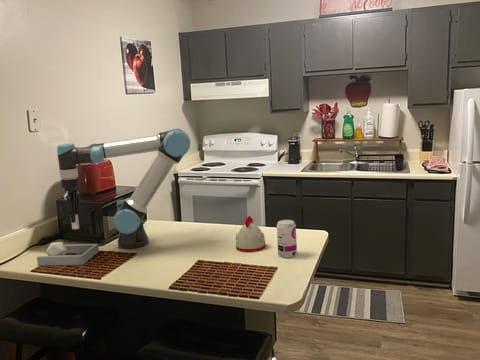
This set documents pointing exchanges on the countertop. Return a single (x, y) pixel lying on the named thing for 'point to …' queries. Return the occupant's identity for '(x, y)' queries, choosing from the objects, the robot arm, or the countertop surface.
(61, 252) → the die
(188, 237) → the countertop surface
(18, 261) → the countertop surface
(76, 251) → the channel
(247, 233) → the kitchen timer
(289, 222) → the supplement can
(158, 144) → the robot arm
